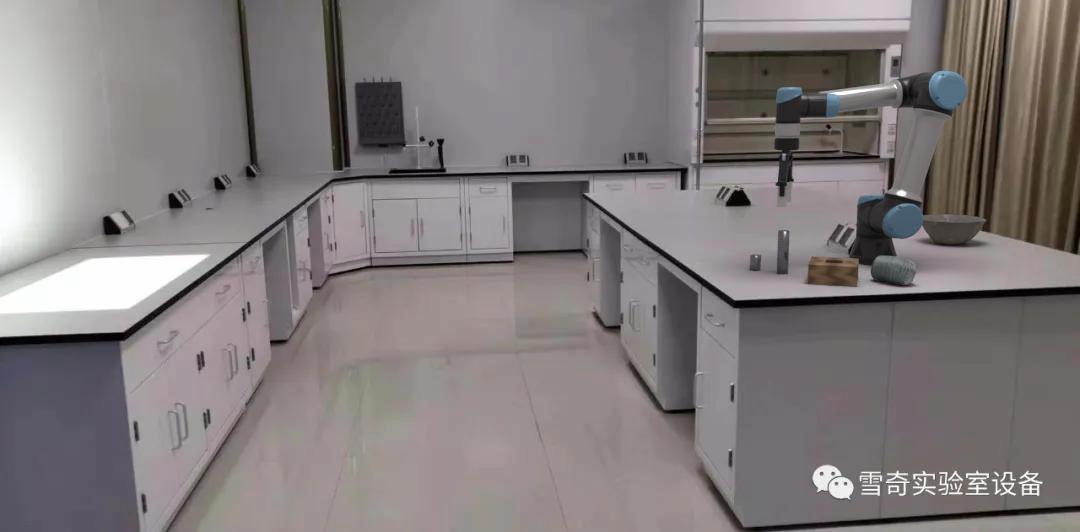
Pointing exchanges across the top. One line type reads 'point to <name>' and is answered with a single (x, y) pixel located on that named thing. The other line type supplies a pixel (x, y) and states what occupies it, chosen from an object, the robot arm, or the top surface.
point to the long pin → (783, 252)
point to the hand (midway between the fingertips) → (783, 204)
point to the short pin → (755, 262)
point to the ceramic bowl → (952, 227)
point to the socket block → (833, 271)
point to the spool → (893, 270)
